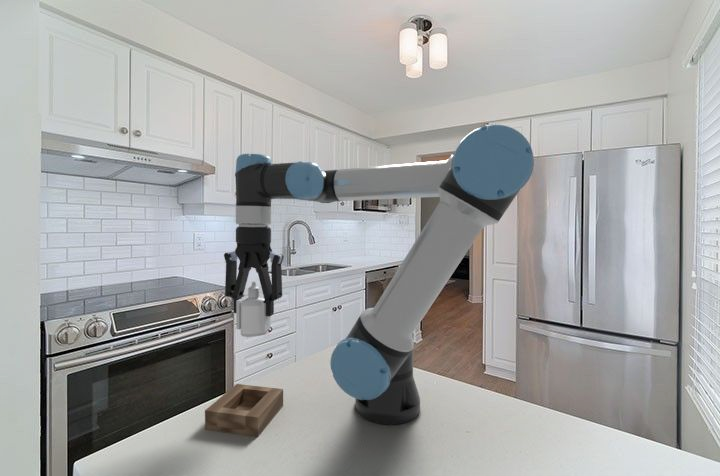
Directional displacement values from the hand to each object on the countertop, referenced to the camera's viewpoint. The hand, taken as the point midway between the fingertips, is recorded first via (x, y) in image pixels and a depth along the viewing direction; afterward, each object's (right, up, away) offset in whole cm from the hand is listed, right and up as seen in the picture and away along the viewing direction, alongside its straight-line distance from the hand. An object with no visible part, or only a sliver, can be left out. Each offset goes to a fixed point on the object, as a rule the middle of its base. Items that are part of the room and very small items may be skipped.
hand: (253, 328), depth 78 cm
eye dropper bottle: (0, -2, 0) cm, 2 cm away
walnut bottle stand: (-1, -19, -1) cm, 19 cm away
